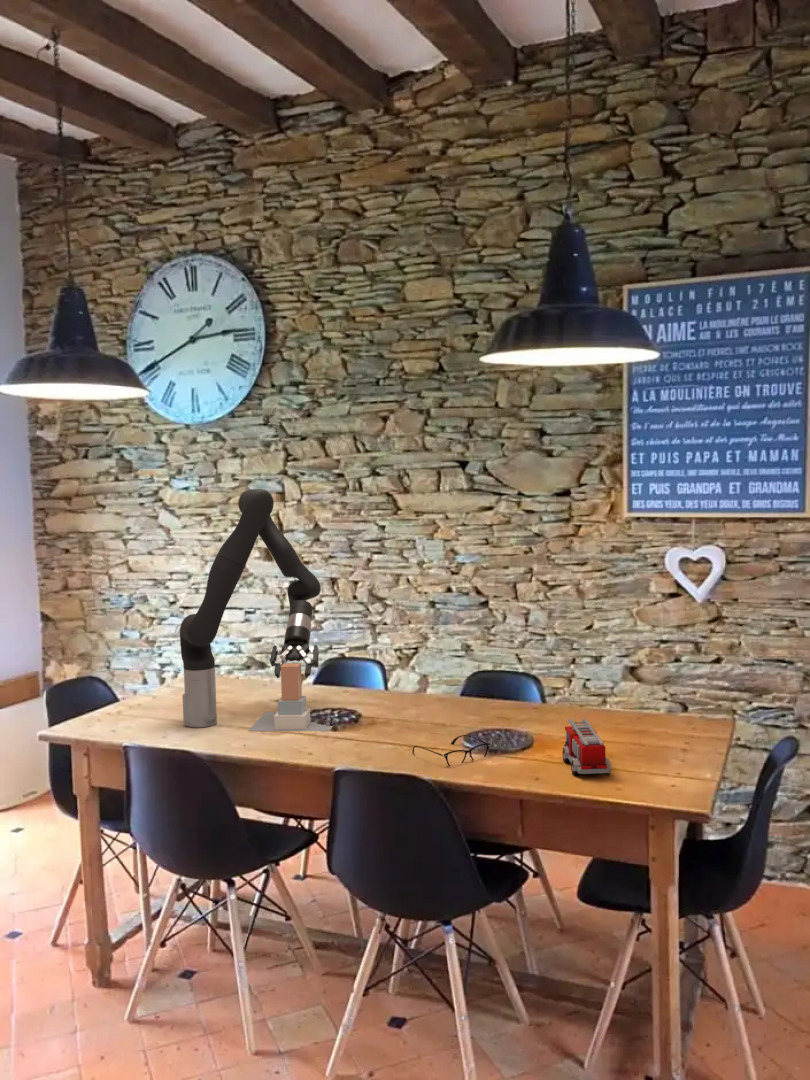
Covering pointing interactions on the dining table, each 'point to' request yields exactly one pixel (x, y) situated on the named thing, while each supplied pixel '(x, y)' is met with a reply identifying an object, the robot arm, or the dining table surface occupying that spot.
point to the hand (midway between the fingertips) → (292, 676)
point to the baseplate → (268, 725)
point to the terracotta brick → (291, 681)
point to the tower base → (292, 715)
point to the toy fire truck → (584, 750)
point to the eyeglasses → (459, 750)
